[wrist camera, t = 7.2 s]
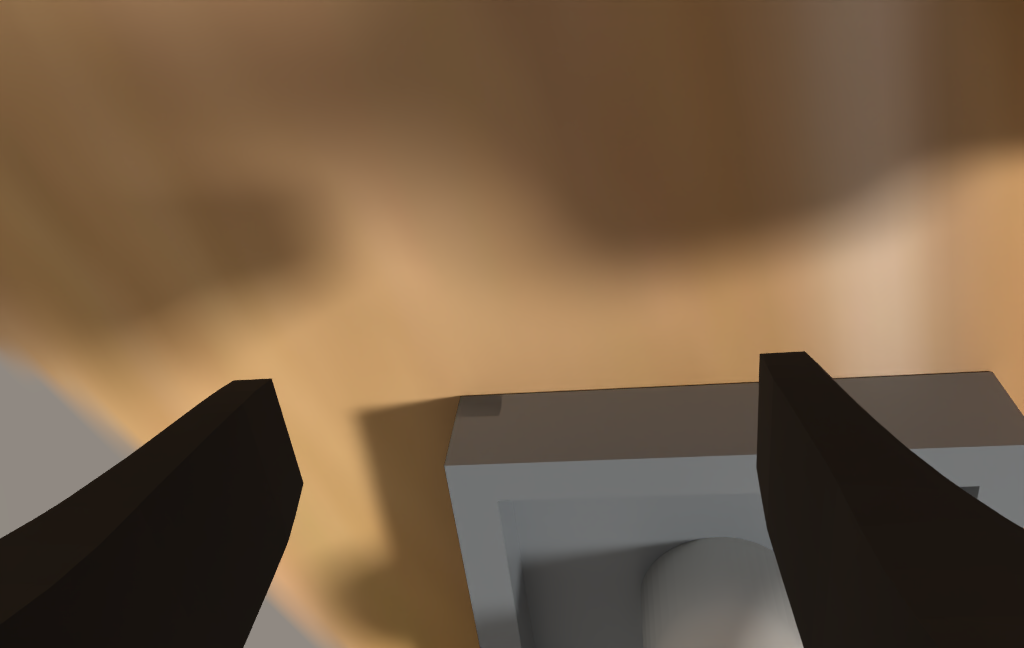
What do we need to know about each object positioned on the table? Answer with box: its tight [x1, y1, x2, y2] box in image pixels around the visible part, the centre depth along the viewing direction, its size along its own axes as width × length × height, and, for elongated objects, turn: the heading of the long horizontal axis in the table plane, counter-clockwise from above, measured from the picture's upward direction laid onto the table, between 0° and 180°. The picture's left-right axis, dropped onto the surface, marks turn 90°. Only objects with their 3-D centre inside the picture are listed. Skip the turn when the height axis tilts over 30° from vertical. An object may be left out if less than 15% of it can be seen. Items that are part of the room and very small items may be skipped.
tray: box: [444, 372, 1024, 648], centre depth 26 cm, size 14×14×3 cm
